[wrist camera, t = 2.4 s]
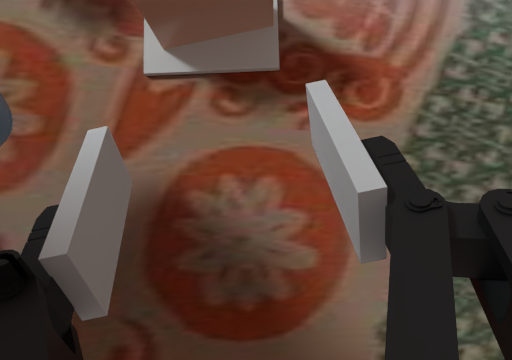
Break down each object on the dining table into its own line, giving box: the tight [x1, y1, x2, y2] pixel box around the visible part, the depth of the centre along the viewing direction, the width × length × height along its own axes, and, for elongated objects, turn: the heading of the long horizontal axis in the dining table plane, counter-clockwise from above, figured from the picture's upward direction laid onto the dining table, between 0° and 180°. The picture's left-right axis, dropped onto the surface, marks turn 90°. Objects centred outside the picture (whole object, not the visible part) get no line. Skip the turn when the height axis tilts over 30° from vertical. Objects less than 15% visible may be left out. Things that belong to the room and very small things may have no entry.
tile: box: [134, 0, 273, 49], centre depth 34 cm, size 2×10×9 cm, turn 102°
